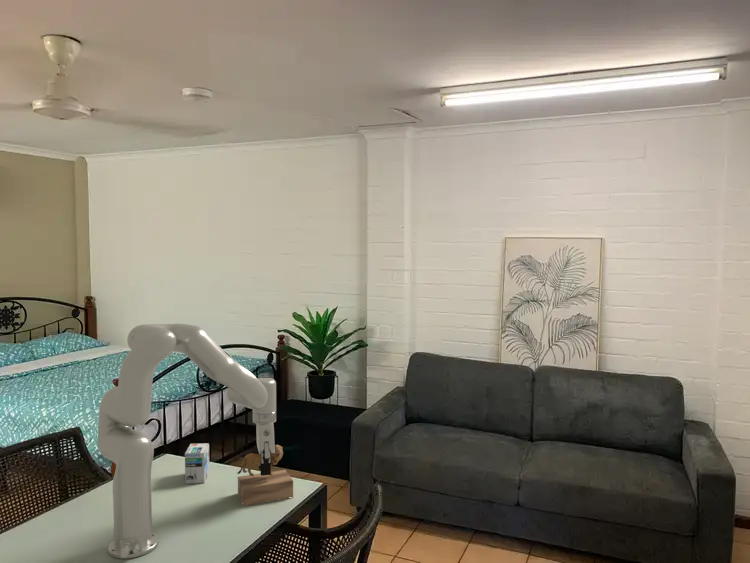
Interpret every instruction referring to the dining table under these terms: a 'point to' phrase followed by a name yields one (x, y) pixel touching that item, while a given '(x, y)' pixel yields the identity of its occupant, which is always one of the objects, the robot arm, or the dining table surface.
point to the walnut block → (265, 487)
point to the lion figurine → (256, 459)
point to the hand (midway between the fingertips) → (264, 471)
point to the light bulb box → (197, 463)
